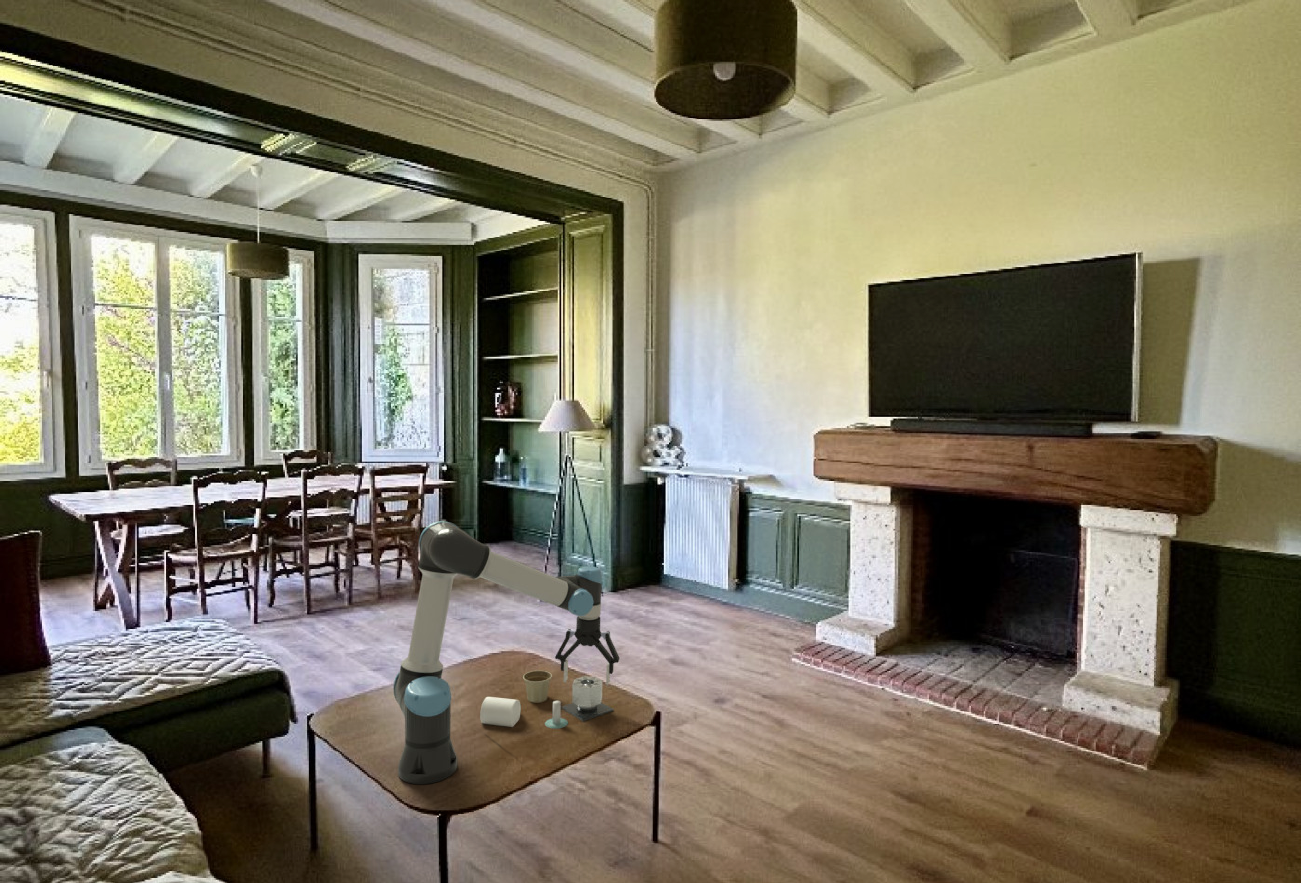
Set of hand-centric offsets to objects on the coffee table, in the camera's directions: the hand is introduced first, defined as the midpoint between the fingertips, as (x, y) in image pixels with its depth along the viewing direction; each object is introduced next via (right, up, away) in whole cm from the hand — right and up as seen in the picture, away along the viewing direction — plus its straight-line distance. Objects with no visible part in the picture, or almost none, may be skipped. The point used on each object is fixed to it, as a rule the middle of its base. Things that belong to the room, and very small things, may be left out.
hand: (586, 682), depth 230 cm
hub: (0, -10, +1) cm, 10 cm away
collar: (0, -6, 0) cm, 6 cm away
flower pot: (-17, -9, +8) cm, 21 cm away
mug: (-25, -10, -7) cm, 28 cm away
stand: (-8, -11, -9) cm, 16 cm away
